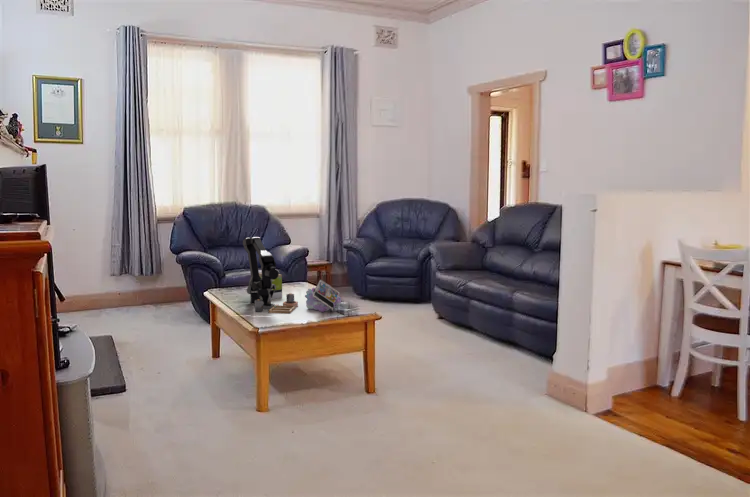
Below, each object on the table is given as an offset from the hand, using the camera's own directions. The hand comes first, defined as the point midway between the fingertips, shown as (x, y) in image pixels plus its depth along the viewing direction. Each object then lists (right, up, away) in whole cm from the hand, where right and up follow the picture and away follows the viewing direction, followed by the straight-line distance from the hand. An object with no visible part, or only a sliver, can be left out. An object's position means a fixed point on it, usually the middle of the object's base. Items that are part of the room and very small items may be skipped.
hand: (267, 304), depth 363 cm
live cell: (0, -2, 0) cm, 2 cm away
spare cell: (-3, -4, -10) cm, 11 cm away
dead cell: (+13, -2, +4) cm, 13 cm away
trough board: (+10, -4, -8) cm, 13 cm away
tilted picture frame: (+32, -3, -2) cm, 32 cm away
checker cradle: (+1, -3, 0) cm, 3 cm away
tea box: (-4, +1, +37) cm, 37 cm away
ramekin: (+13, -2, +4) cm, 14 cm away
